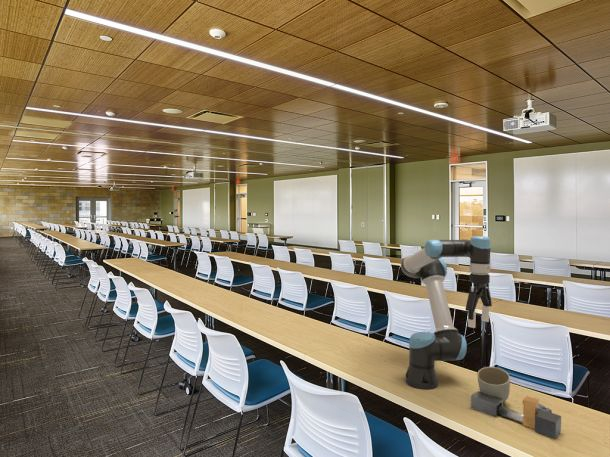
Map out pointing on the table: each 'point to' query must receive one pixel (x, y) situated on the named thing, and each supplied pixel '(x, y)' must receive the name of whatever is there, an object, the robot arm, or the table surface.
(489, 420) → the table surface
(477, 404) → the grey block
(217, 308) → the table surface
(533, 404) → the orange and grey piece
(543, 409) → the bracket
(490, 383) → the planter
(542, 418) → the socket
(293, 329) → the table surface
